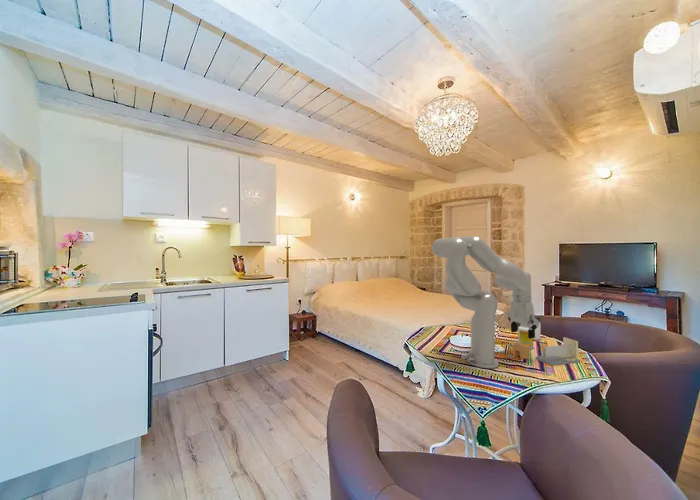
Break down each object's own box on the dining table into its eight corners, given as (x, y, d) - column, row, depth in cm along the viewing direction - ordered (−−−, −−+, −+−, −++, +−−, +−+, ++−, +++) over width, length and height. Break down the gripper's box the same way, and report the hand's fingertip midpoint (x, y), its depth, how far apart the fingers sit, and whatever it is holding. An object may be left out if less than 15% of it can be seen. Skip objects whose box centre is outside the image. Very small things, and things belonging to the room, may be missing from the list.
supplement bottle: (535, 349, 142) (535, 324, 142) (520, 348, 143) (521, 323, 143) (529, 345, 148) (530, 320, 148) (516, 344, 150) (516, 320, 150)
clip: (522, 359, 130) (522, 347, 130) (512, 354, 135) (513, 343, 135) (529, 358, 131) (529, 346, 131) (519, 354, 136) (519, 342, 136)
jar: (522, 334, 168) (522, 314, 168) (539, 336, 164) (539, 315, 164) (523, 338, 160) (524, 317, 160) (541, 340, 156) (541, 319, 156)
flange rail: (551, 365, 122) (552, 345, 122) (535, 358, 130) (535, 339, 130) (580, 362, 126) (580, 342, 126) (562, 355, 134) (562, 336, 134)
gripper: (501, 296, 140) (501, 330, 141) (531, 302, 124) (532, 341, 124) (513, 295, 142) (514, 328, 143) (545, 301, 126) (545, 339, 126)
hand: (522, 334), depth 133 cm, fingers open, 9 cm apart
